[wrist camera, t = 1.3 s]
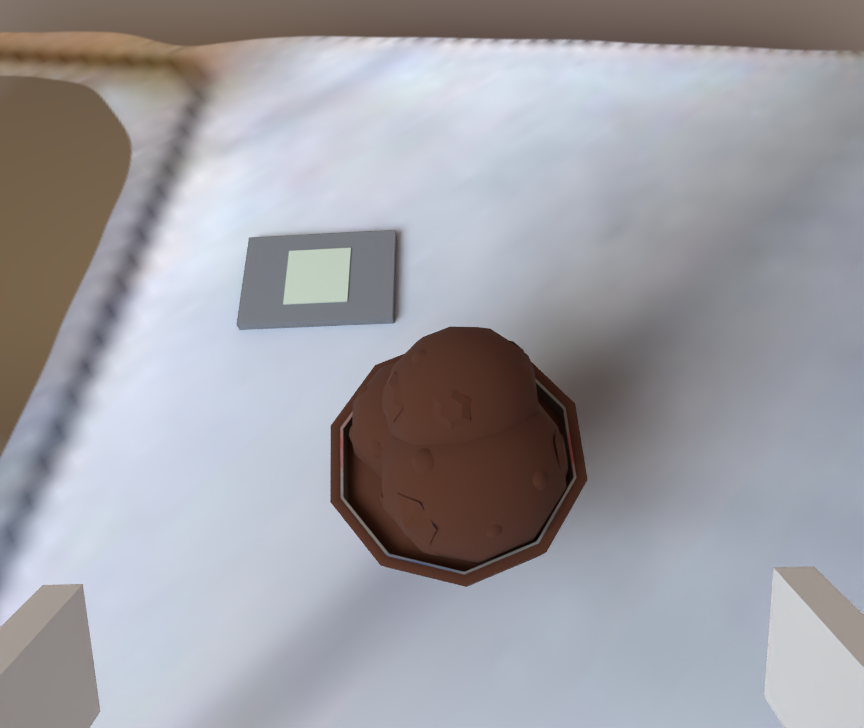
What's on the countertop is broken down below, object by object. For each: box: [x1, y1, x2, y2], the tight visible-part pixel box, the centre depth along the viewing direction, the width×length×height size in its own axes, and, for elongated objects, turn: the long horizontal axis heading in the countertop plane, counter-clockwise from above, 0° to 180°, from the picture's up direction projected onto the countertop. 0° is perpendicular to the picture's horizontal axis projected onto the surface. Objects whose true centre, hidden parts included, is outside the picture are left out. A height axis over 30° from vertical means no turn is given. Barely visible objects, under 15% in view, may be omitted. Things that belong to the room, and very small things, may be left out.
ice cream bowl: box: [331, 327, 587, 587], centre depth 34 cm, size 11×11×15 cm
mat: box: [237, 230, 396, 330], centre depth 49 cm, size 10×7×1 cm
